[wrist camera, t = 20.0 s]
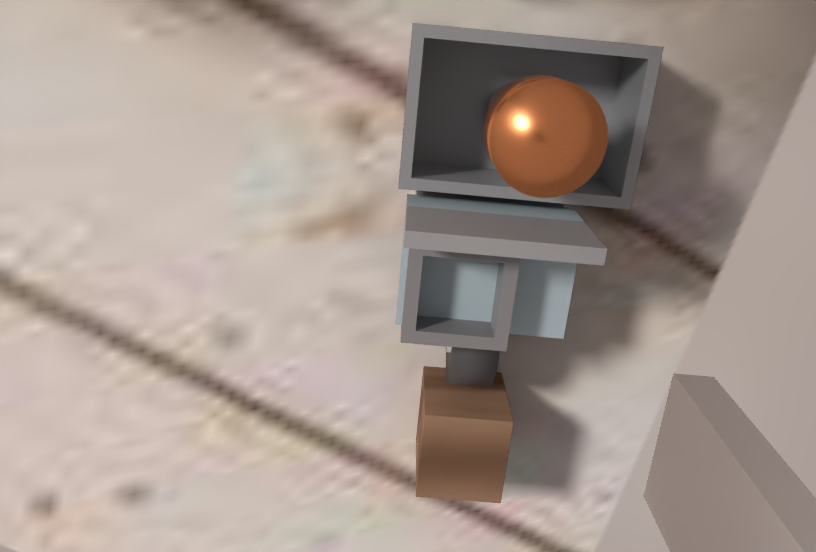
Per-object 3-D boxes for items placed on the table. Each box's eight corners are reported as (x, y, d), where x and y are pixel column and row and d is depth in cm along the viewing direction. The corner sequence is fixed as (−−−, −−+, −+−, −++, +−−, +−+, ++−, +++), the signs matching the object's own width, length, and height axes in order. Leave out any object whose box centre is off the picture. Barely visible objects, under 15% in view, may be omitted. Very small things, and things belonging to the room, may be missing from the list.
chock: (423, 365, 45) (424, 414, 39) (501, 372, 45) (513, 422, 39) (416, 439, 47) (416, 496, 41) (490, 445, 47) (500, 503, 41)
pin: (475, 60, 38) (498, 74, 28) (563, 69, 38) (618, 85, 28) (465, 149, 40) (483, 192, 29) (549, 156, 40) (596, 202, 29)
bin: (413, 23, 38) (412, 23, 33) (633, 44, 38) (663, 47, 33) (400, 169, 41) (398, 188, 36) (605, 188, 41) (630, 209, 36)
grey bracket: (408, 180, 41) (405, 230, 31) (561, 194, 41) (607, 248, 31) (392, 350, 45) (385, 444, 35) (533, 363, 45) (566, 459, 35)
